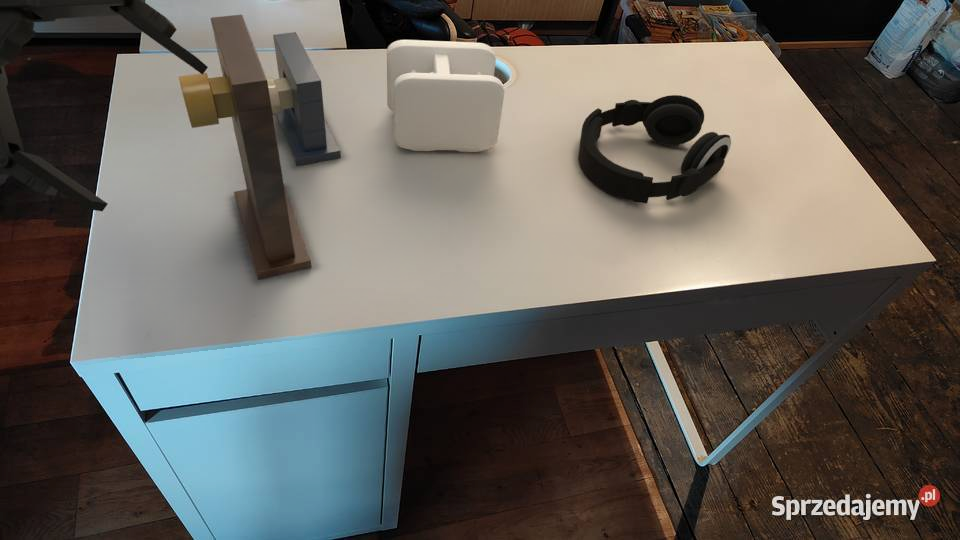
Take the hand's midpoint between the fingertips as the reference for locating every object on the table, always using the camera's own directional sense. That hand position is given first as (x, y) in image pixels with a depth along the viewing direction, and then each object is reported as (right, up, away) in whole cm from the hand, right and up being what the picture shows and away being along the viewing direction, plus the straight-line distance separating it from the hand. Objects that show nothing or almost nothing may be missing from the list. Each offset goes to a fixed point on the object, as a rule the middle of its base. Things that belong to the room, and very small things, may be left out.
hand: (149, 136), depth 52 cm
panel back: (+2, +9, +40) cm, 41 cm away
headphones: (+50, +4, +43) cm, 66 cm away
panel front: (+1, -6, +27) cm, 27 cm away
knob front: (+1, +5, +14) cm, 14 cm away
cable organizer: (+20, +9, +43) cm, 49 cm away
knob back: (0, +11, +36) cm, 38 cm away
